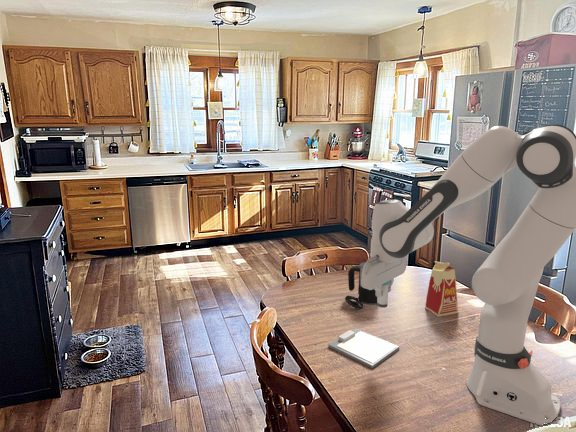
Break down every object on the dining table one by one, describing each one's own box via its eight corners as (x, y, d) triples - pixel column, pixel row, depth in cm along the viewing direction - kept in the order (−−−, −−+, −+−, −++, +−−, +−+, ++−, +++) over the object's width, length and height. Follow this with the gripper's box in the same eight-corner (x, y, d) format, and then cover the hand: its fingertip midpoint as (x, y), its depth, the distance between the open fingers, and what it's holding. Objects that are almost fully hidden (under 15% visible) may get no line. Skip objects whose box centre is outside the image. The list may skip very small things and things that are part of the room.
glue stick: (389, 305, 136) (391, 280, 134) (383, 308, 133) (385, 283, 131) (380, 302, 138) (381, 277, 136) (374, 305, 136) (376, 280, 134)
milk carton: (458, 312, 163) (463, 263, 158) (438, 317, 160) (443, 266, 155) (441, 303, 171) (445, 255, 167) (422, 307, 168) (426, 258, 163)
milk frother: (381, 295, 178) (383, 262, 175) (382, 313, 163) (383, 276, 160) (346, 293, 181) (347, 259, 177) (344, 310, 166) (345, 274, 162)
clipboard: (399, 349, 139) (399, 343, 138) (372, 368, 129) (372, 362, 128) (356, 330, 151) (356, 324, 150) (328, 347, 140) (328, 341, 140)
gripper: (374, 263, 122) (372, 307, 125) (411, 246, 136) (408, 287, 139) (356, 257, 126) (355, 301, 130) (393, 242, 140) (391, 282, 144)
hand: (383, 293), depth 135 cm, fingers closed on glue stick, 3 cm apart
